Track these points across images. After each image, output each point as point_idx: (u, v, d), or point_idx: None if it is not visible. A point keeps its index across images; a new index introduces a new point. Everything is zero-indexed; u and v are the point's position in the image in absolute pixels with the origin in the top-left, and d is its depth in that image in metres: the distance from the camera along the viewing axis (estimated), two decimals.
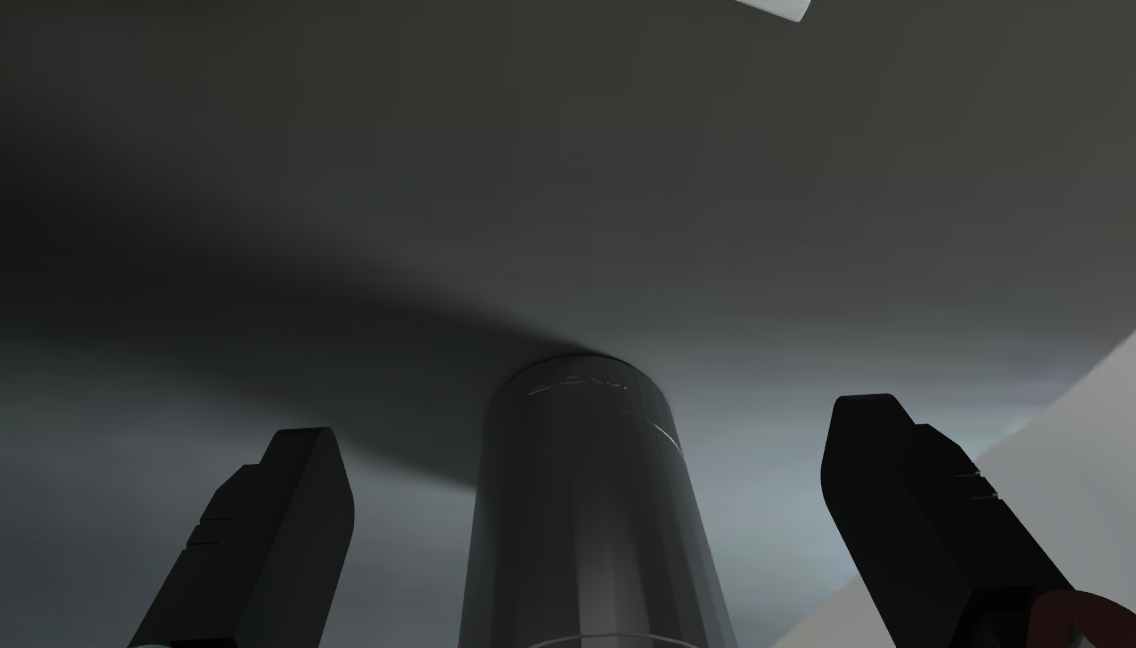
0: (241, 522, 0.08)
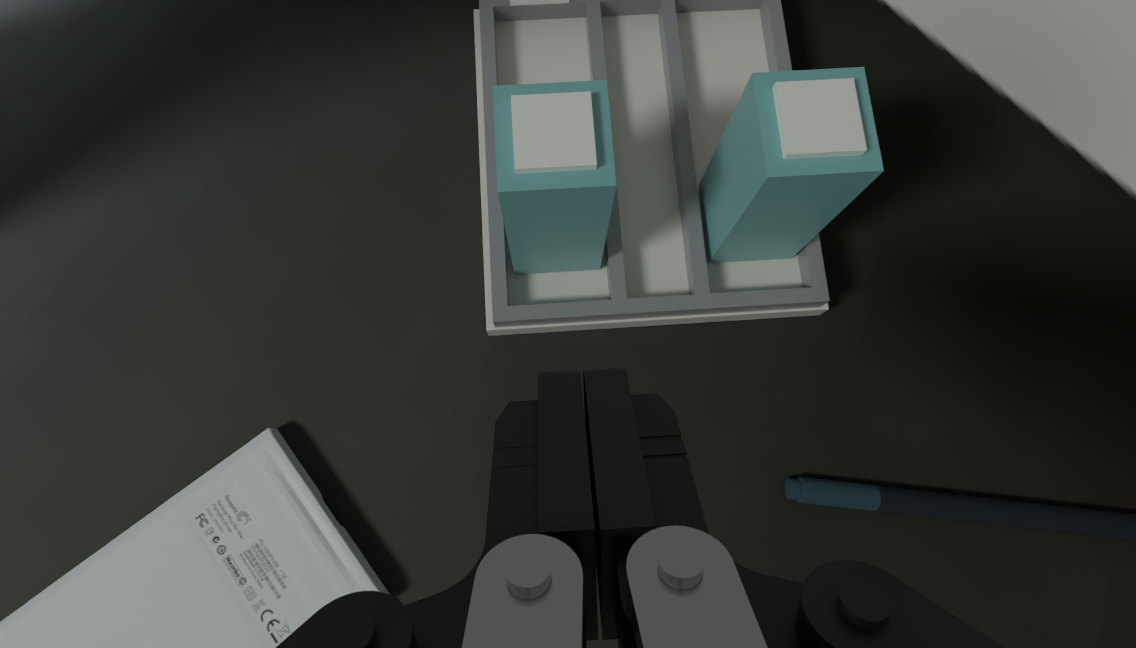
0: (550, 442, 0.09)
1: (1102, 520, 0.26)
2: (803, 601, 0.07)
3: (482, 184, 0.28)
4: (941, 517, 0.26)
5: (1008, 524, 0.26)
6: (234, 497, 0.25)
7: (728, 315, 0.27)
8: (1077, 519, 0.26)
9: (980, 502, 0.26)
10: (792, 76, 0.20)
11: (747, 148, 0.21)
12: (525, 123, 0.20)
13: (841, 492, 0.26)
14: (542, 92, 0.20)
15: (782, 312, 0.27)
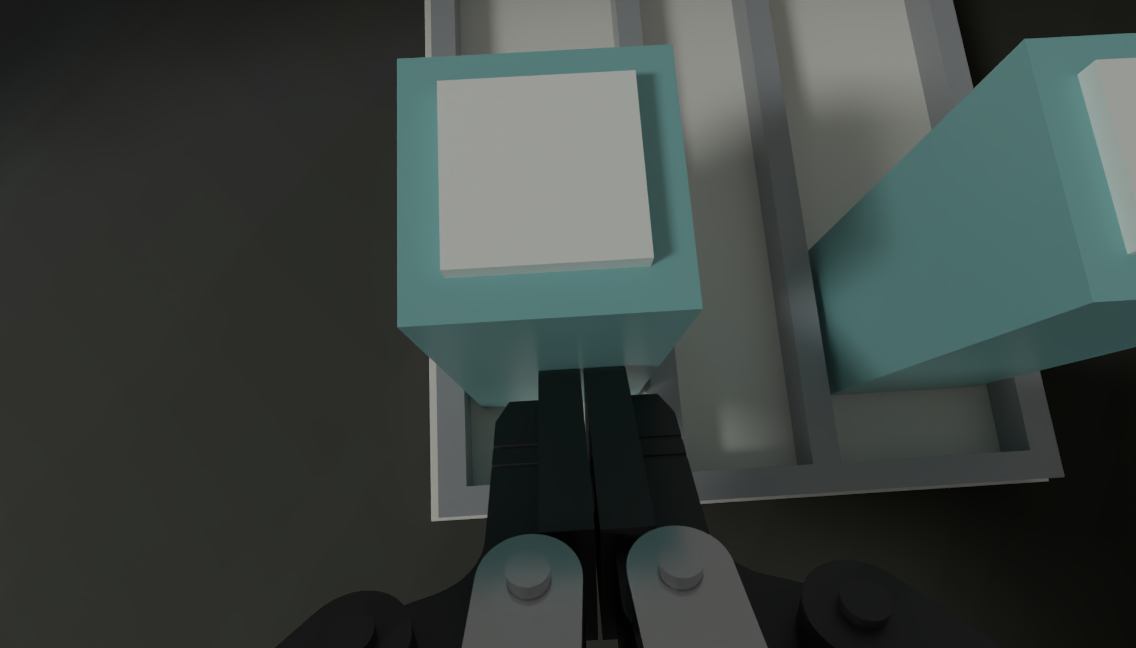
0: (550, 442, 0.09)
1: None
2: (803, 601, 0.07)
3: None
4: None
5: None
6: None
7: (867, 492, 0.15)
8: None
9: None
10: (1126, 47, 0.08)
11: (989, 215, 0.09)
12: (471, 150, 0.08)
13: None
14: (517, 74, 0.08)
15: (963, 486, 0.15)
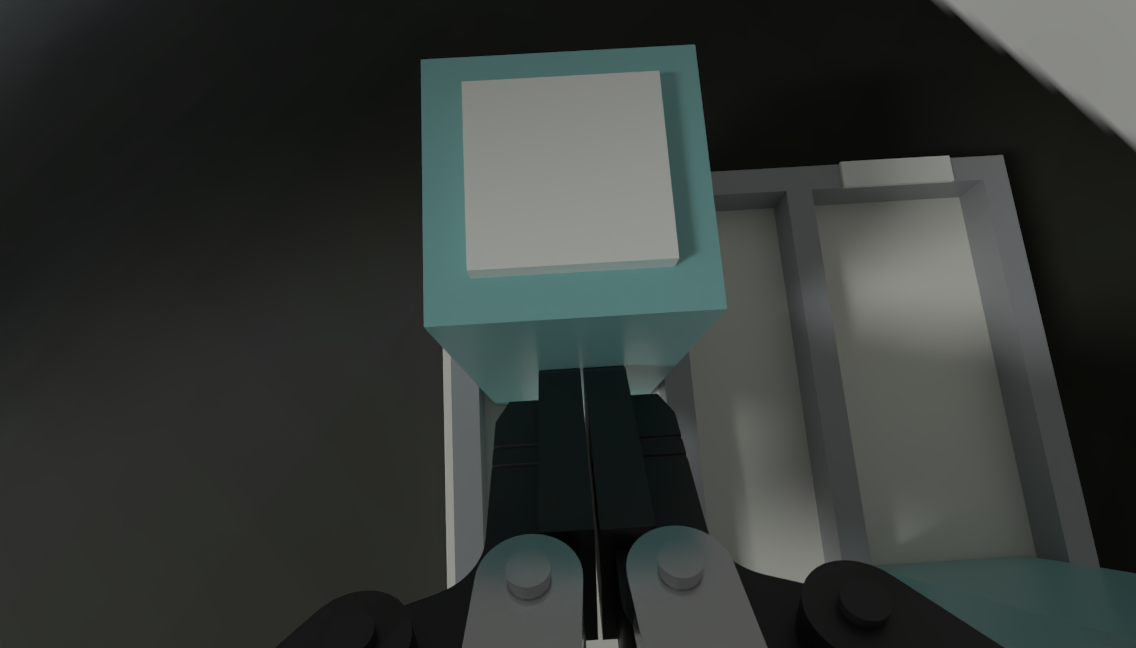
0: (550, 442, 0.09)
1: None
2: (803, 601, 0.07)
3: (450, 562, 0.15)
4: None
5: None
6: None
7: None
8: None
9: None
10: None
11: None
12: (496, 151, 0.08)
13: None
14: (540, 75, 0.08)
15: None
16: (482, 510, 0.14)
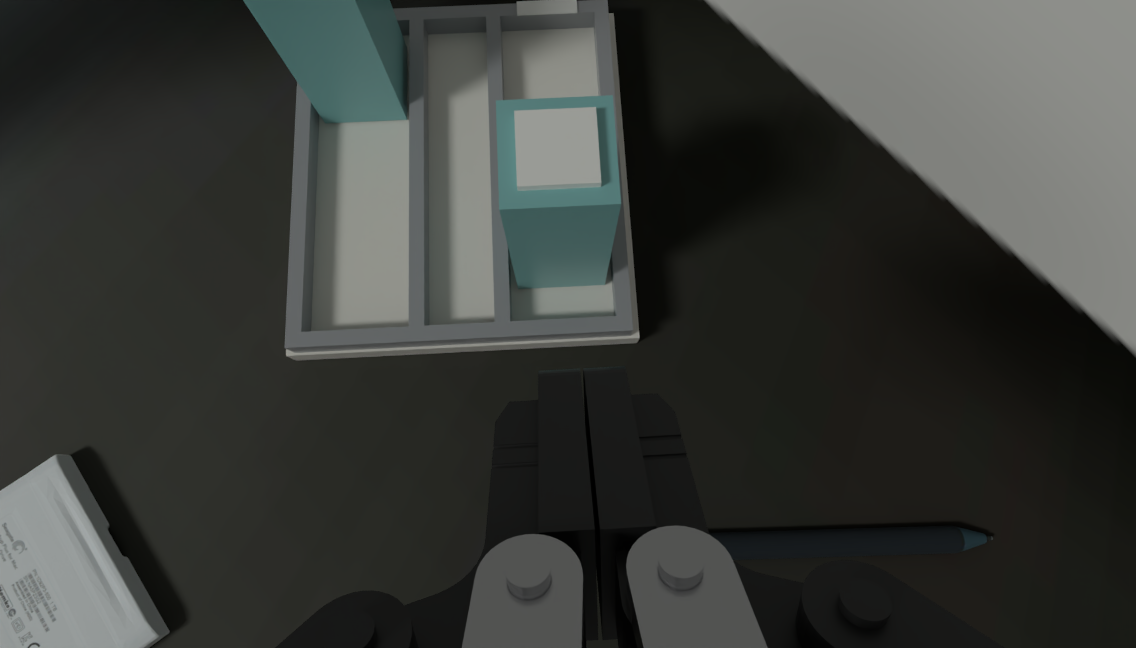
0: (550, 442, 0.09)
1: (907, 538, 0.25)
2: (803, 601, 0.07)
3: None
4: (745, 558, 0.25)
5: (814, 556, 0.25)
6: (12, 525, 0.25)
7: (535, 343, 0.26)
8: (881, 541, 0.25)
9: (782, 537, 0.25)
10: (535, 104, 0.20)
11: None
12: None
13: None
14: None
15: (592, 340, 0.26)
16: (308, 170, 0.27)
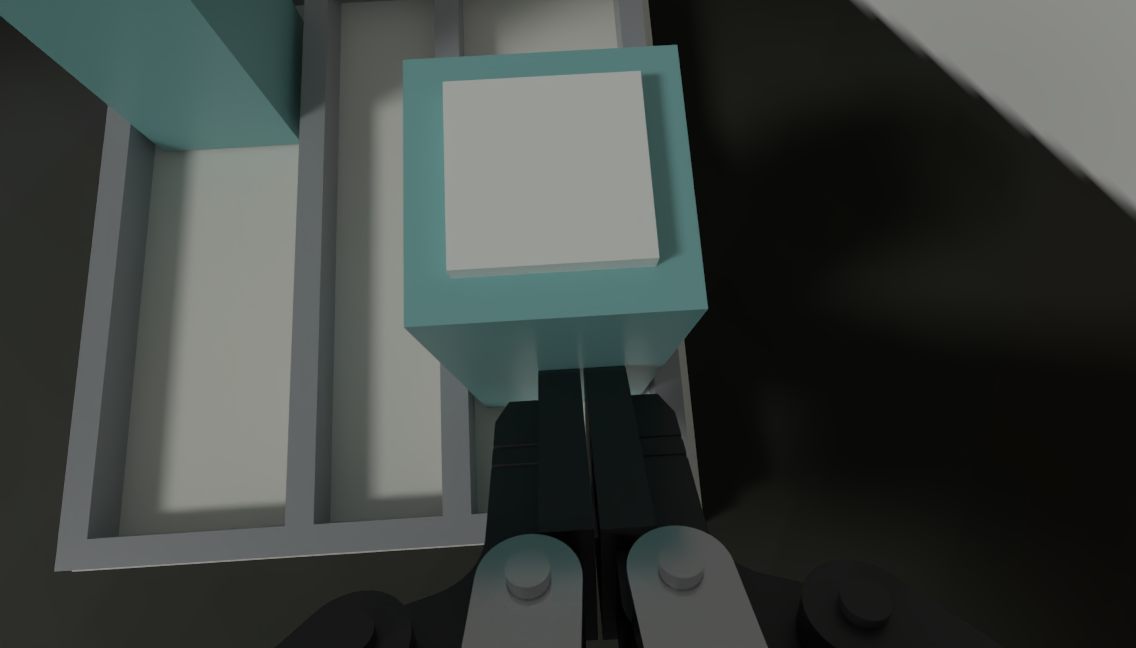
0: (550, 443, 0.09)
1: None
2: (803, 601, 0.07)
3: None
4: None
5: None
6: None
7: None
8: None
9: None
10: (496, 68, 0.08)
11: None
12: None
13: None
14: None
15: None
16: (120, 235, 0.15)
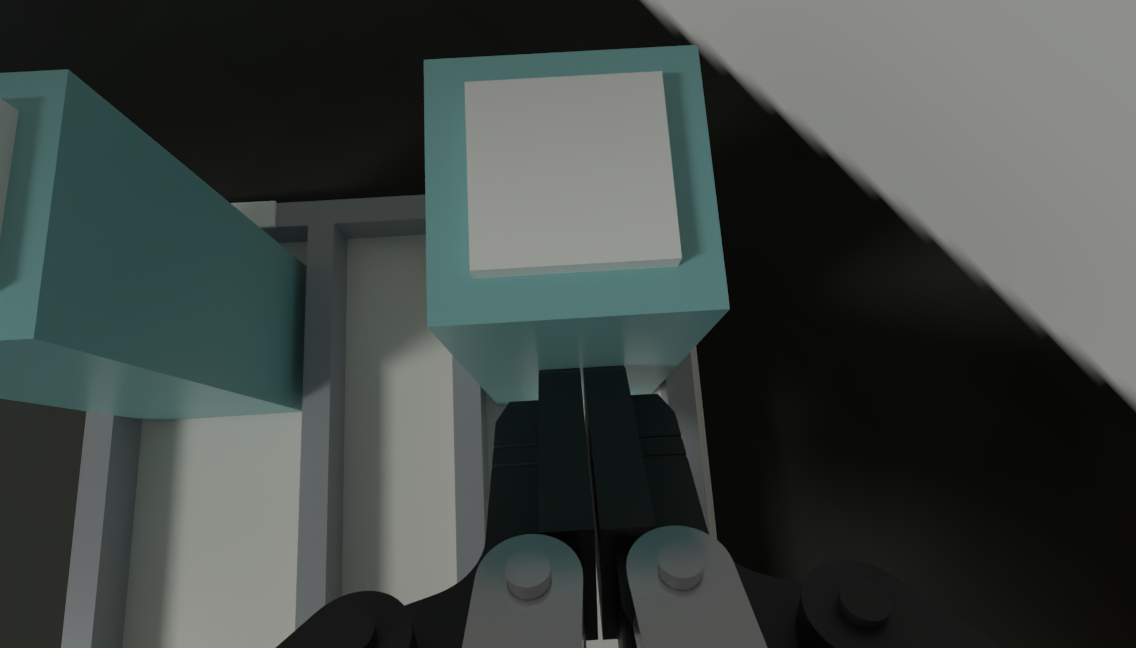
0: (550, 442, 0.09)
1: None
2: (803, 601, 0.07)
3: None
4: None
5: None
6: None
7: None
8: None
9: None
10: (517, 68, 0.08)
11: None
12: None
13: None
14: None
15: None
16: (103, 542, 0.14)
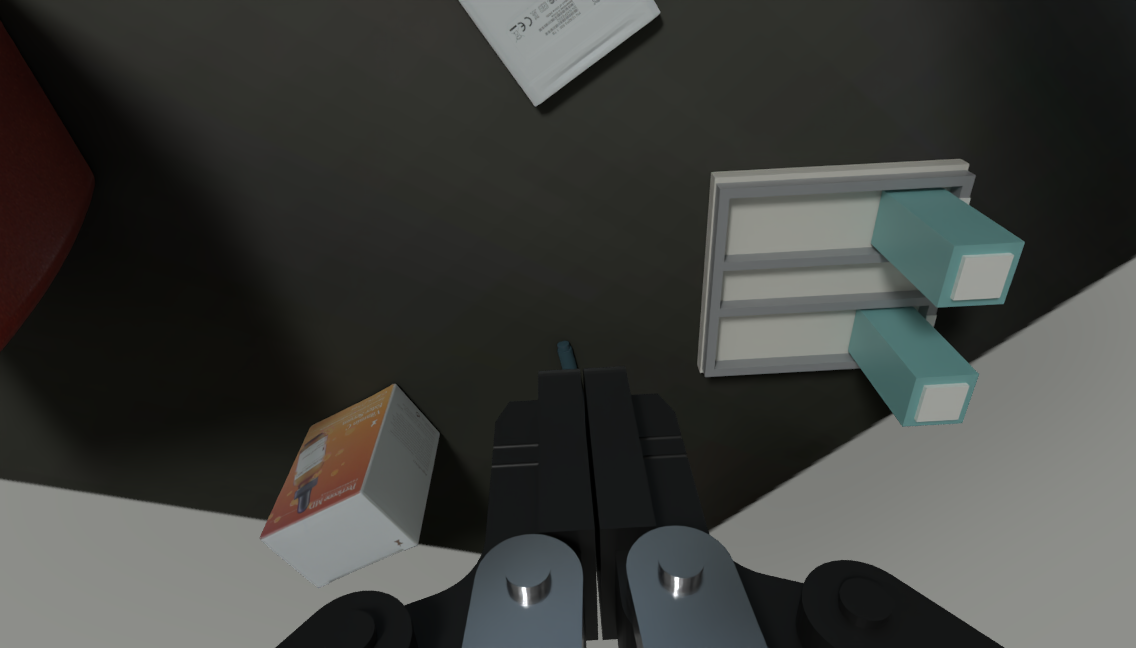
0: (550, 442, 0.09)
1: None
2: (803, 601, 0.07)
3: (823, 173, 0.39)
4: None
5: None
6: None
7: (704, 321, 0.44)
8: None
9: None
10: (969, 392, 0.37)
11: (933, 362, 0.38)
12: (992, 263, 0.33)
13: None
14: (1009, 269, 0.33)
15: (701, 349, 0.45)
16: (845, 191, 0.39)
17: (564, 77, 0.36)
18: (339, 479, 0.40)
